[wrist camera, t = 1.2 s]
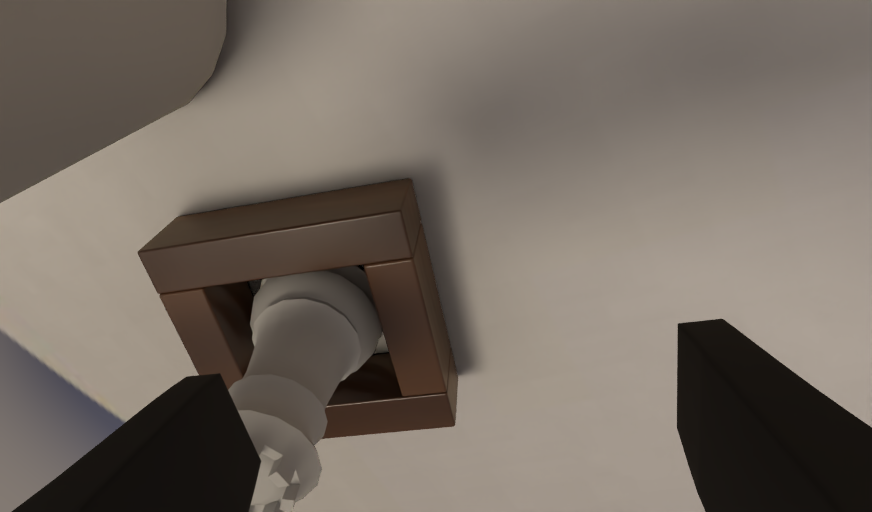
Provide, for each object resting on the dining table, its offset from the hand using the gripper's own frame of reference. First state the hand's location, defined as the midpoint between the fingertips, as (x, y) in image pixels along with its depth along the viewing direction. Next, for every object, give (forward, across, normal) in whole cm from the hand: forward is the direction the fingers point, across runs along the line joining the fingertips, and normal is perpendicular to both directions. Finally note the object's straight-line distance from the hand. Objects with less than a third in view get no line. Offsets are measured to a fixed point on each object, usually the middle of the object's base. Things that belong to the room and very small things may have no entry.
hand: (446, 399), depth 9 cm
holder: (+10, +6, +4) cm, 12 cm away
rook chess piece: (+10, +6, +4) cm, 12 cm away
